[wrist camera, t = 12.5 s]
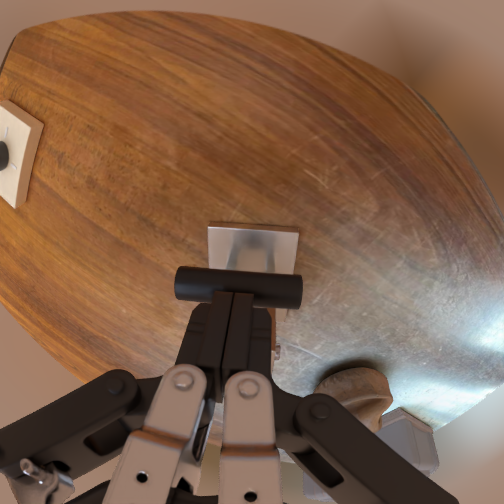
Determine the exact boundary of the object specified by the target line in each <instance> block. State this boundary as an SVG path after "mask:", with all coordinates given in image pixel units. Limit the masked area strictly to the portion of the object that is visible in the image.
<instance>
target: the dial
mask: <svg viewBox="0 0 504 504" xmlns="http://www.w3.org/2000/svg"><path fill="white" fill-rule="evenodd" d="M8 161H9V152H8V148H7V146H6V144H5V143H4V142H3V141H0V171H2V170H4V169H5V168H6V167H7V165H8Z"/></svg>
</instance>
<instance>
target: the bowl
mask: <svg viewBox="0 0 504 504" xmlns="http://www.w3.org/2000/svg"><path fill="white" fill-rule="evenodd" d="M314 393H323V394H327V395H330V396H332V397H333V398H335V399H336V400H337V401H338V402H339V403H340V404H341V405H342V406H344V407H345V408H346V409H347V410H348V411H349V412H350V413H351V414H352V415H354V416H355V417H356V418H357V419H358V420H359V421H360V422H362V423H363V424H364V425H365V426H366V427H367V428H368V429H370V430H371V431H372V432H373V433H375V432H377V431H379V430H380V429H381V428H382V416H381V415H382V414H383V412H384V411H386V410H387V409H388V408H389V407H390V405H391V404H392V402H393V397H392V395H391V393H390V389H389V384H388V380H387V378H386V377H385V375H383V374H382V373H380V372H379V371H377V370H374V369H371V368H363V367H360V368H352V369H348V370H344V371H340V372H338V373H336V374H333V375H331V376H330V377H328V378H326V379H324V380H323V381H322V382H321V383H320V384H319V385H318V386H317V387H316V389H315V390H314V392H313V394H314Z"/></svg>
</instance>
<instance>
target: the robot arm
mask: <svg viewBox="0 0 504 504" xmlns="http://www.w3.org/2000/svg"><path fill="white" fill-rule="evenodd" d="M253 298H254V294H248V293H235V295H234V292H222V291H215V292H214V296H213V299H212V303H211V304H210V303H200V304H199V305H198V306H197V307H196V308H195V309H194V310H193V311H192V314H191V317H190V320H189V323H188V326H187V329H186V332H185V335H184V338H183V341H182V344H181V347H180V350H179V353H178V356H177V360H176V362H175V365H174V366H173V367H171V368H169V369H168V370H167V371H166V372H165V373H164V375H162V376H160V377H156V378H146V379H135V377H134V376H133V375H132V374H131V373H130V372H128V371H126V370H121V369H115V370H111V371H108V372H106V373H105V374H103V375H101V376H99V377H97V378H96V379H94V380H92V381H90V382H89V383H87V384H85V385H83V386H81V387H80V388H78V389H76V390H74V391H72V392H70V393H69V394H67V395H65V396H63V397H61V398H59V399H58V400H56V401H54V402H52V403H50V404H48V405H46V406H45V407H43V408H41V409H39V410H37V411H35V412H33V413H32V414H29V415H27V416H25V417H23V418H21V419H20V420H18V421H16V422H14V423H12V424H10V425H8V426H6V427H4V428H2V429H0V472H1V473H2V474H4V475H5V476H6V478H7V480H8V483H9V485H10V487H11V489H12V492H13V494H14V496H15V498H16V500H17V502H18V504H63V502H64V501H65V500H66V499H67V498H69V497H70V496H71V494H73V493H74V491H75V487H74V485H73V481H72V480H74V479H76V478H78V477H80V476H82V475H84V474H86V473H88V472H90V471H92V470H93V469H95V468H97V467H99V466H101V465H102V464H104V463H106V462H108V461H109V460H111V459H113V458H114V457H116V456H118V455H120V454H121V456H120V458H119V461H118V463H117V466H116V469H115V471H114V473H113V476H112V479H111V480H108V481H105V482H103V483H101V484H99V485H97V486H95V487H94V488H92V489H90V490H88V491H87V492H85V493H83V494H81V495H79V496H78V497H76V498H74V499H72V500H70V501H68V502H66V503H64V504H287V503H284V502H283V496H282V495H283V494H282V478H281V464H280V455H279V451H278V449H277V448H280V449H283V450H285V452H286V453H287V454H288V455H289V456H290V457H291V458H292V459H293V461H294V462H295V463H296V464H297V465H298V466H299V467H300V468H301V469H302V470H303V471H304V472H305V473H306V474H307V475H308V476H309V477H310V478H311V479H312V480H313V481H314V482H315V483H316V484H317V485H318V486H319V487H320V488H321V489H322V490H324V491H325V492H326V493H327V494H328V495H329V496H330V497H331V498H332V499H333V500H334V501H335V502H337V503H338V504H459V502H458V500H457V499H456V498H455V497H454V496H452V495H451V494H450V493H448V492H447V491H445V490H444V489H443V488H441V487H440V486H439V485H437V484H436V483H435V482H433V481H432V480H431V479H429V478H428V477H427V476H426V475H424V474H423V473H422V472H420V471H419V470H418V469H417V468H415V467H414V466H413V465H412V464H410V463H409V462H408V461H407V460H405V459H404V458H403V457H402V456H400V455H399V454H398V453H397V452H396V451H394V450H393V449H392V448H391V447H390V446H388V445H387V444H386V443H385V442H384V441H382V440H381V439H380V438H379V437H378V436H377V435H375V434H374V433H373V432H372V431H371V430H370V429H368V428H367V427H366V426H365V425H364V424H363V423H362V422H360V421H359V420H358V419H357V418H356V417H355V416H354V415H352V414H351V413H350V412H349V411H348V410H347V409H346V408H345V407H344V406H342V405H341V404H340V403H339V402H338V401H337V400H336V399H335V398H333V397H332V396H330V395H327V394H323V393H314V394H310V395H307V396H305V397H304V398H303V397H299V396H296V395H293V394H290V393H287V392H285V391H283V390H281V389H280V388H279V387H278V386H277V385H276V384H275V383H274V381H273V379H272V376H271V341H272V340H271V338H272V317H271V316H270V314H269V312H268V310H267V308H258V307H253ZM223 395H224V414H223V434H222V448H221V453H220V469H219V495H216V496H196V492H197V489H198V485H199V481H200V476H201V464H202V460H203V456H204V452H205V448H206V444H207V440H208V437H209V433H210V429H211V425H212V421H213V414H214V408H215V402H217V403H222V402H223Z"/></svg>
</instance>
